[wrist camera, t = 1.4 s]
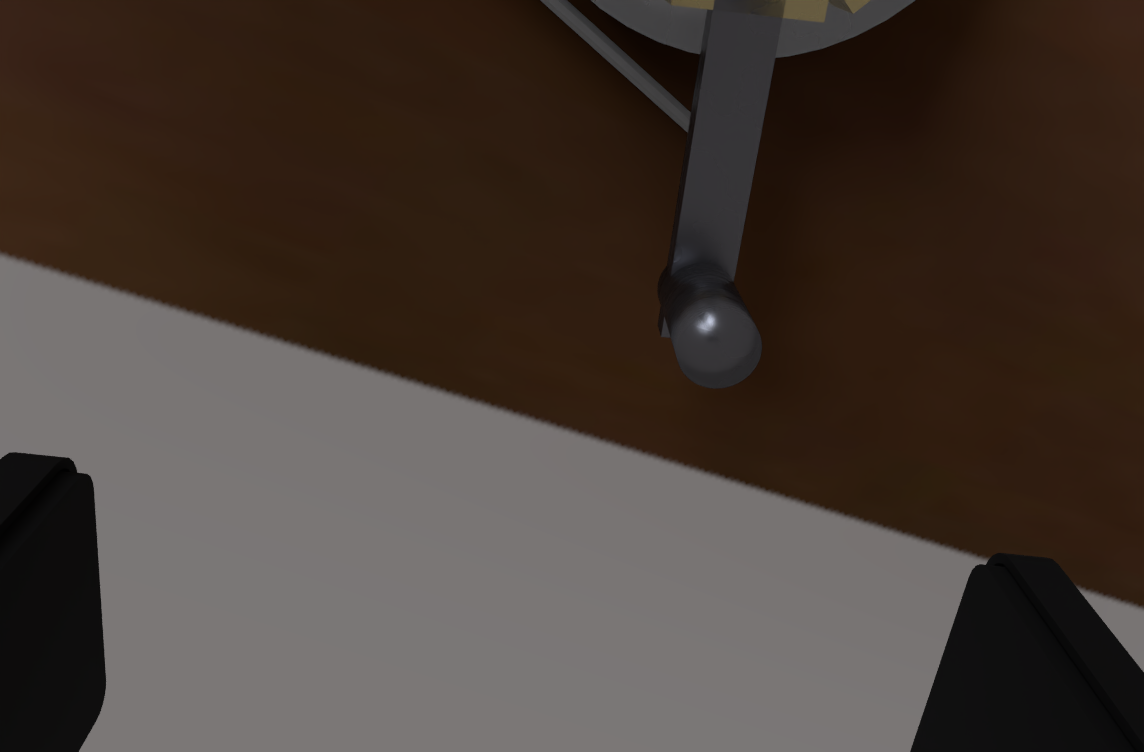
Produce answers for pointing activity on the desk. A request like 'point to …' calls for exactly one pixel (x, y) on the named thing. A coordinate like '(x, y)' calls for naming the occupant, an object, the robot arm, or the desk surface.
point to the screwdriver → (620, 60)
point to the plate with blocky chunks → (682, 27)
